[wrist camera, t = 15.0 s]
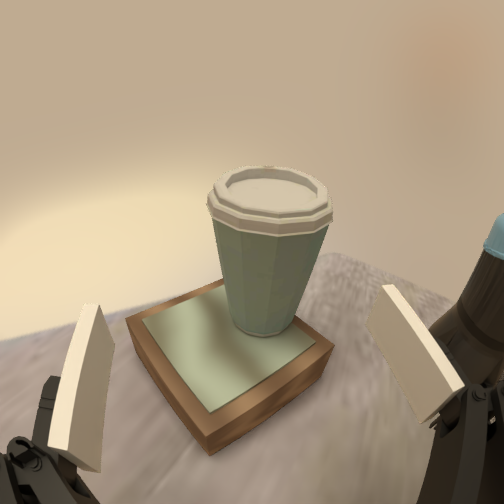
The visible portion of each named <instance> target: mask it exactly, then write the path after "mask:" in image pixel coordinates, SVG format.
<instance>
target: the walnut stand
mask: <svg viewBox="0 0 504 504" xmlns="http://www.w3.org/2000/svg"><path fill="white" fill-rule="evenodd" d="M125 319H126V323H127V326H128V329H129V332H130V335H131V338H132V341H133V344H134V347H135V350H136V353H137V354H138V356H139V358H140V359H141V361H142V363H143V364H144V366H145V368H146V369H147V371H148V372H149V374H150V376H151V377H152V379H153V380H154V382H155V383H156V385H157V386H158V388H159V389H160V391H161V392H162V394H163V395H164V397H165V398H166V400H167V401H168V403H169V404H170V405H171V407H172V408H173V410H174V411H175V412H176V414H177V415H178V417H179V418H180V419H181V421H182V422H183V423H184V425H185V426H186V427H187V429H188V430H189V431H190V433H191V434H192V435H193V436H194V438H195V439H196V440H197V441H198V443H199V444H200V445H201V446H202V448H203V449H204V450H205V451H206V452H207V454H208V455H209V456H211V455H212V454H214V453H216V452H217V451H219V450H221V449H222V448H224V447H225V446H227V445H229V444H230V443H232V442H233V441H235V440H237V439H238V438H240V437H241V436H243V435H244V434H246V433H247V432H249V431H250V430H252V429H253V428H254V427H256V426H257V425H259V424H260V423H262V422H263V421H264V420H266V419H267V418H269V417H270V416H271V415H273V414H274V413H275V412H277V411H278V410H280V409H281V408H282V407H284V406H285V405H286V404H287V403H289V402H290V401H291V400H293V399H294V398H295V397H296V396H298V395H299V394H300V393H301V392H303V391H304V390H305V389H306V388H308V387H309V386H310V385H311V384H312V383H314V382H315V381H316V380H317V379H318V378H320V377H321V375H322V373H323V371H324V368H325V366H326V364H327V362H328V359H329V357H330V355H331V353H332V350H333V348H334V346H335V345H334V344H333V343H331V342H330V341H329V340H327V339H326V338H325V337H323V336H322V335H321V334H319V333H318V332H317V331H315V330H314V329H313V328H311V327H310V326H309V325H307V324H306V323H305V322H303V321H302V320H301V319H300V318H298V317H297V316H296V315H294V318H293V320H292V322H291V323H290V324H289V325H288V326H287V327H286V328H285V329H284V330H283V331H281V332H280V333H279V334H277V335H272V336H267V337H259V336H254V335H249V334H247V333H245V332H244V331H242V330H241V329H240V328H238V327H237V326H236V324H235V323H234V321H233V319H232V316H231V313H230V310H229V305H228V300H227V295H226V290H225V285H224V280H223V279H220V280H218V281H215V282H213V283H211V284H208V285H206V286H203V287H201V288H198V289H196V290H194V291H191V292H189V293H186V294H184V295H182V296H179V297H177V298H174V299H172V300H169V301H167V302H164V303H162V304H160V305H157V306H155V307H152V308H150V309H147V310H145V311H142V312H140V313H137V314H135V315H132V316H130V317H127V318H125Z"/></svg>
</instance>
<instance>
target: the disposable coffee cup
mask: <svg viewBox="0 0 504 504" xmlns="http://www.w3.org/2000/svg"><path fill="white" fill-rule="evenodd" d="M206 205H207V207H208V210H209V212H210V215H211V217H212V221H213V226H214V232H215V237H216V243H217V248H218V254H219V259H220V264H221V270H222V275H223V280H224V285H225V290H226V295H227V300H228V305H229V310H230V313H231V316H232V319H233V321H234V323H235V324H236V326H237V327H238V328H240V329H241V330H242V331H244V332H245V333H247V334H249V335H254V336H259V337H267V336H272V335H277V334H279V333H280V332H281V331H283V330H284V329H285V328H286V327H287V326H288V325H289V324H290V323H291V322H292V320H293V318H294V315H295V313H296V310H297V308H298V305H299V303H300V300H301V298H302V295H303V293H304V290H305V288H306V285H307V283H308V280H309V278H310V275H311V272H312V270H313V267H314V265H315V262H316V259H317V257H318V254H319V251H320V248H321V246H322V243H323V240H324V237H325V235H326V232H327V229H328V226H329V224H330V223H332V222H333V219H332V214H333V208H332V199H331V197H330V196H328V189H327V188H326V187H324V185H323V184H321V183H320V182H319V181H318V180H317V179H316V178H314V177H312V176H310V175H307V174H305V173H302V172H300V171H297V170H295V169H291V168H284V167H275V166H243V167H240V168H237V169H234V170H231V171H228V172H225V173H224V174H223V175H222V176H221V177H220V178H219V179H218V180H217V182H216V183H215V184H214V189H213V190H212V191H211V192H210V193H209V194H208V200H207V204H206Z"/></svg>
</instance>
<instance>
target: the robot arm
mask: <svg viewBox="0 0 504 504" xmlns="http://www.w3.org/2000/svg"><path fill="white" fill-rule="evenodd" d="M483 247H484V249H483V252H482V254H481V256H480V258H479V260H478V262H477V265H476V267H475V269H474V271H473V273H472V275H471V277H470V279H469V281H468V283H467V285H466V287H465V288H464V290H463V292H462V294H461V296H460V298H459V300H458V301H457V303H456V304H455V305H454V306H453V307H452V308H451V309H450V310H448V311H447V312H446V313H445V314H444V315H443V316H442V317H440V318H439V319H438V320H437V321H436V322H435V323H433V324H432V326H431V327H430V328H429V330H427V328H426V327H425V326H424V324H423V323H422V321H421V320H420V319H419V317H418V316H417V315H416V313H415V312H414V311H413V309H412V308H411V307H410V305H409V304H408V303H407V301H406V300H405V299H404V297H403V296H402V295H401V294H400V292H399V291H398V290H397V288H396V287H395V286H394V285H393V284H390V285H383V286H381V288H380V291H379V293H378V296H377V298H376V301H375V303H374V305H373V308H372V310H371V313H370V315H369V317H368V319H367V322H366V324H365V325H366V326H367V328H368V330H369V331H370V333H371V335H372V337H373V338H374V340H375V342H376V344H377V345H378V347H379V349H380V350H381V352H382V354H383V356H384V358H385V359H386V361H387V363H388V365H389V366H390V368H391V370H392V372H393V374H394V376H395V377H396V379H397V381H398V383H399V385H400V387H401V389H402V390H403V392H404V394H405V396H406V398H407V400H408V402H409V404H410V406H411V408H412V410H413V411H414V413H415V415H416V417H417V419H418V421H419V423H420V424H421V423H423V422H425V421H427V420H429V419H431V418H433V417H434V416H435V415H436V414H437V413H438V412H439V413H440V416H439V417H438V418H437V419H435V420H434V421H433V422H432V423H431V424H430V427H429V428H432V427H433V426H434V425H435V424H437V425H436V426H435V427H434V430H436V431H435V436H434V441H433V446H432V451H431V455H430V459H429V463H428V467H427V471H426V475H425V478H424V482H423V485H422V488H421V492H420V495H419V498H418V501H417V504H504V380H502V381H499V379H500V377H501V375H502V372H503V370H504V213H503V214H501V215H499V216H498V217H497V219H496V220H495V222H494V225H493V227H492V229H491V232H490V234H489V236H488V238H487V239H486V240H485V242H484V245H483ZM114 348H115V343H114V341H113V339H112V336H111V334H110V331H109V329H108V326H107V324H106V321H105V318H104V316H103V313H102V310H101V308H100V305H99V304H84V305H83V308H82V311H81V313H80V316H79V319H78V322H77V325H76V328H75V331H74V334H73V337H72V340H71V344H70V347H69V350H68V354H67V357H66V361H65V364H64V368H63V372H62V375H61V377H57V376H50V377H49V379H48V380H47V381H46V383H45V384H44V386H43V390H42V394H41V399H40V402H39V409H38V411H37V415H36V420H35V425H34V430H33V436H32V440H31V441H30V440H28V439H27V438H25V437H21V436H18V437H15V438H13V439H12V440H11V441H10V442H9V444H8V446H7V454H2V453H0V504H100V503H99V502H98V500H97V499H96V498H95V497H94V495H93V494H92V493H91V491H90V490H89V489H88V487H87V486H86V484H85V483H84V482H83V480H82V479H81V477H80V476H79V475H78V474H77V467H79V468H80V469H82V470H85V471H91V472H96V473H101V454H102V438H103V427H104V416H105V407H106V399H107V391H108V384H109V378H110V371H111V365H112V359H113V353H114ZM498 381H499V383H498ZM497 383H498V384H497ZM496 384H497V385H496ZM494 416H495V420H496V421H495V422H493V423H492V424H491V423H490V419H492V418H493V417H494Z"/></svg>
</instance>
